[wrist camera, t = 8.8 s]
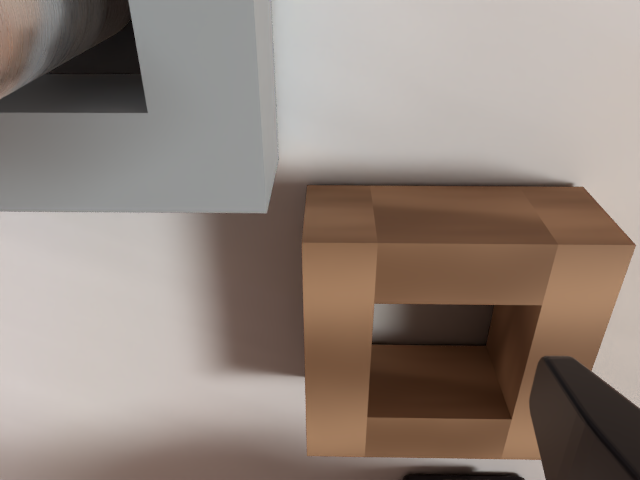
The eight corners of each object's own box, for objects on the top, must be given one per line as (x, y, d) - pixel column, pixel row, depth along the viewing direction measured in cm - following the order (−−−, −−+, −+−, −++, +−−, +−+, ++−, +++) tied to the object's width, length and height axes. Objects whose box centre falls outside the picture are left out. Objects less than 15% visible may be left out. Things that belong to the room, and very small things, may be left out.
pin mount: (528, 384, 25) (559, 460, 21) (310, 381, 25) (306, 456, 22) (583, 186, 20) (635, 245, 16) (307, 185, 20) (301, 242, 16)
